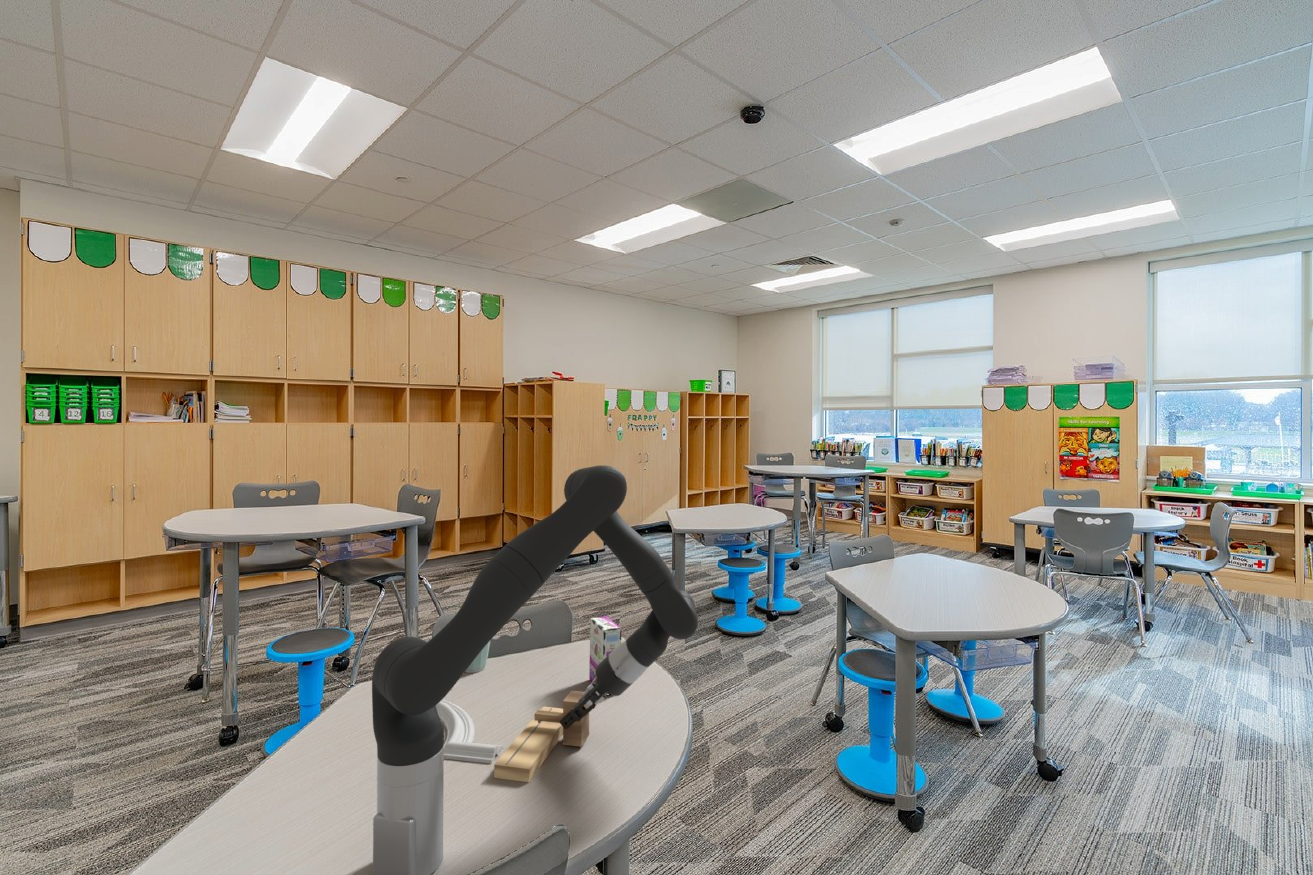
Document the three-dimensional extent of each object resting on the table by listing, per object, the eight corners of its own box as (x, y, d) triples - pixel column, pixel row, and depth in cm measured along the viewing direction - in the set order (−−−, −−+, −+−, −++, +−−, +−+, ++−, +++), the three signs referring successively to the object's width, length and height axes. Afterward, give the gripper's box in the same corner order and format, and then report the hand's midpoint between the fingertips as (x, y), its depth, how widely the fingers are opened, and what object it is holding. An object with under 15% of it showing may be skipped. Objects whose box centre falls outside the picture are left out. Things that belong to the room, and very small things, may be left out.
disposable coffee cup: (481, 658, 169) (481, 605, 169) (501, 668, 162) (502, 614, 162) (446, 668, 161) (446, 613, 161) (466, 680, 154) (466, 622, 154)
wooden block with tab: (581, 746, 121) (581, 702, 121) (531, 740, 123) (531, 697, 123) (589, 734, 126) (589, 692, 126) (540, 728, 128) (540, 687, 128)
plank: (529, 782, 109) (529, 768, 109) (494, 777, 111) (494, 763, 111) (572, 720, 133) (572, 709, 133) (543, 717, 134) (543, 706, 134)
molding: (510, 760, 118) (510, 746, 118) (448, 780, 111) (448, 764, 111) (448, 685, 152) (448, 673, 152) (398, 696, 145) (398, 684, 145)
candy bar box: (621, 693, 147) (622, 627, 147) (602, 696, 145) (603, 630, 145) (606, 676, 157) (607, 615, 157) (588, 679, 155) (589, 617, 155)
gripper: (619, 640, 129) (567, 690, 132) (600, 666, 115) (542, 721, 118) (643, 666, 128) (590, 716, 131) (626, 695, 114) (567, 750, 117)
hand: (567, 718), depth 124 cm, fingers closed on wooden block with tab, 5 cm apart
